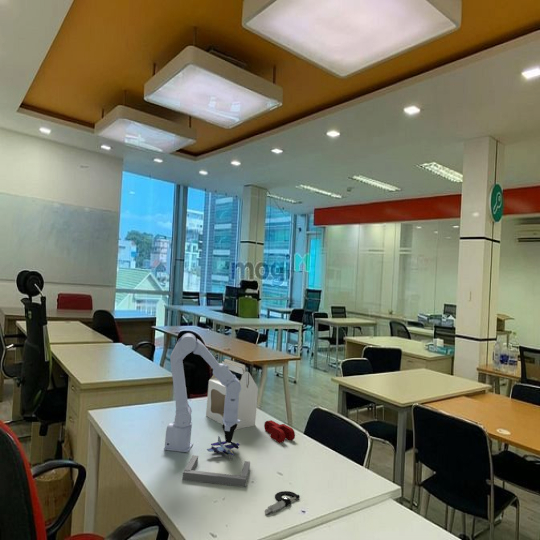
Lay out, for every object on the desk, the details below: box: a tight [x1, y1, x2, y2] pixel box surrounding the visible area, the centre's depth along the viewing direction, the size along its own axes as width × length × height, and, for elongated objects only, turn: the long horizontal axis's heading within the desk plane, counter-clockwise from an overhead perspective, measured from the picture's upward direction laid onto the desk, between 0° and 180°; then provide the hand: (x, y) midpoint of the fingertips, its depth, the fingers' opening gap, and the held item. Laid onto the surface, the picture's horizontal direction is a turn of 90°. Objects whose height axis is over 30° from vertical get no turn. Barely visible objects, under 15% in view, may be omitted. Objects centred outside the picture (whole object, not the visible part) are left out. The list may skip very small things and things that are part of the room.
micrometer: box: [264, 490, 301, 516], centre depth 124 cm, size 15×7×2 cm, turn 135°
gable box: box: [205, 358, 259, 431], centre depth 191 cm, size 22×13×28 cm, turn 43°
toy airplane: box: [206, 435, 241, 461], centre depth 153 cm, size 13×14×4 cm
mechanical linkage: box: [263, 420, 296, 444], centre depth 176 cm, size 16×7×5 cm, turn 37°
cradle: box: [182, 455, 251, 488], centre depth 138 cm, size 21×13×2 cm, turn 87°
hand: (228, 442), depth 160 cm, fingers closed
